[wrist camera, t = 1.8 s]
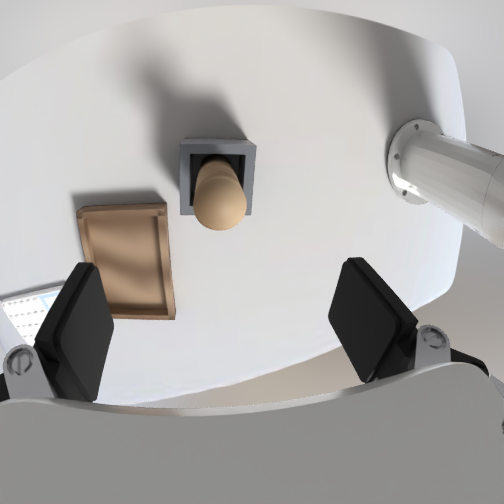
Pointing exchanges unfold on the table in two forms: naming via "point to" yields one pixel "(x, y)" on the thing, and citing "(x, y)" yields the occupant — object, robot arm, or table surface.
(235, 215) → the dowel
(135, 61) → the table surface
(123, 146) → the table surface
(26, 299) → the calculator
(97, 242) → the tray
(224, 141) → the pen cup
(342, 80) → the table surface
